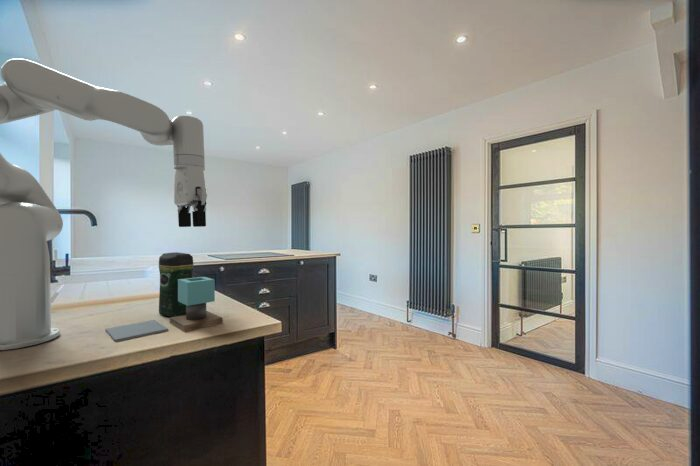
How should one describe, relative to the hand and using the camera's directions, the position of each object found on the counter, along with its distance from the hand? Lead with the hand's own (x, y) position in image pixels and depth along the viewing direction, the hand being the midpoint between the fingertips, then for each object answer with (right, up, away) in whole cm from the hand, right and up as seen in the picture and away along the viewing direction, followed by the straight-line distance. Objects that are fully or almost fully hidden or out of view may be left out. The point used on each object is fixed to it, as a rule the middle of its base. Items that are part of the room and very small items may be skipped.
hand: (192, 226), depth 88 cm
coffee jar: (-9, -26, +9) cm, 29 cm away
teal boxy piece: (+1, -20, 0) cm, 20 cm away
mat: (-11, -27, -7) cm, 29 cm away
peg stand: (+1, -26, 0) cm, 26 cm away
